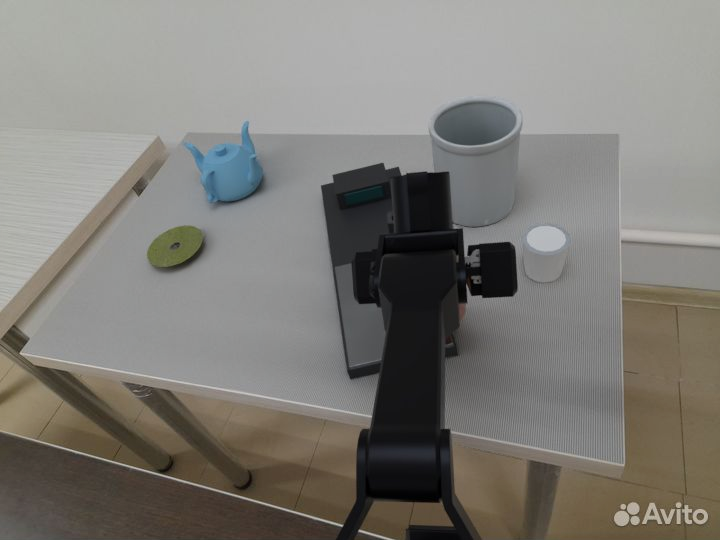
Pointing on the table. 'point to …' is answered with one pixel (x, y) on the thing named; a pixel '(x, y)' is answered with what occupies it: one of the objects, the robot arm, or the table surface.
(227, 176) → the teapot
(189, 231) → the mat
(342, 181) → the scale
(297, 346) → the table surface
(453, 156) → the utensil holder
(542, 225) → the shot glass
